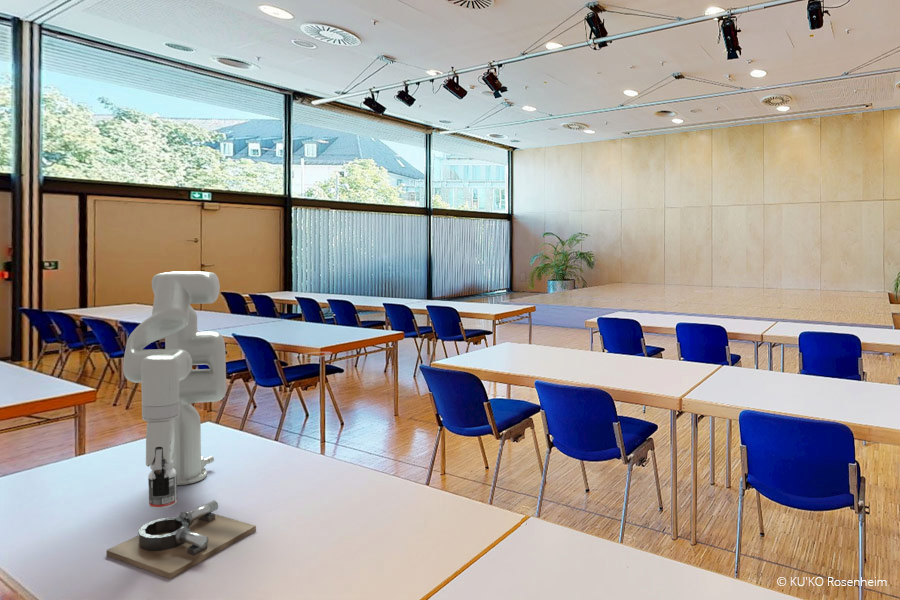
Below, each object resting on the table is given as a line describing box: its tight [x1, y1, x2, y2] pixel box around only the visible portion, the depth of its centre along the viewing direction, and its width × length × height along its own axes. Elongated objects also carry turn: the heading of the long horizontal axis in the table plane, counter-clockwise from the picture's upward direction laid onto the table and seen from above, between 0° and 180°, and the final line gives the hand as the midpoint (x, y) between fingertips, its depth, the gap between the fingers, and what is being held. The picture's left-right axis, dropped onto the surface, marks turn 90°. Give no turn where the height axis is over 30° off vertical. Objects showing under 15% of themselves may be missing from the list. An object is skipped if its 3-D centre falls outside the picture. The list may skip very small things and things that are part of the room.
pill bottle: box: [147, 459, 178, 510], centre depth 136 cm, size 6×6×10 cm
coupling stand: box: [106, 500, 257, 580], centre depth 139 cm, size 24×20×6 cm
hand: (162, 489), depth 136 cm, fingers closed on pill bottle, 5 cm apart
